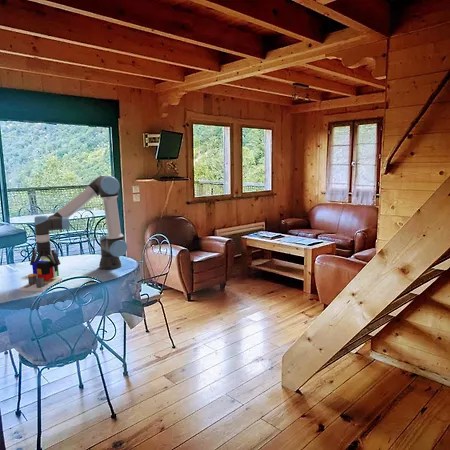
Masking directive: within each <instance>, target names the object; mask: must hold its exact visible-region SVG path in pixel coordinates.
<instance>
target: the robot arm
mask: <svg viewBox="0 0 450 450" xmlns="http://www.w3.org/2000/svg"><path fill="white" fill-rule="evenodd" d="M120 185H121V184H120V182H119V180H118V179H117V178H116V177H114V176H111V175H100V176H98V177H96V178H95V179H94V180H92V181H91V182H90V183H89V184H88V185H87V186H86V188H85V189H84V190H82V192H80V193H79V194H77V196H75V197H74V198H72V199H71V200H70V201H69V202H68V203H66V204H65V205H63V207H61V208H60V209H58V210H57V211H56V212H55V213H54V214H52V215H49V216H48V215H36V216H35V217H34V219H33V220H34V231H35V232H34V233H35V241H36V249H35V248H34V249H32V250H31V253H32V255H31V258H30V262H29V265H30V266H32V263H34V262H38V261H40V260H41V257H43V256H44V257H47V258H49V260H50V261H51V263H52V264H53V265H54V266H53V276H54V277H56V276H57V271H59V266H60V265H61V261H60V259H59V257H58V254H57V250H56V249H55V248H53V249H54V250H51V249H52V248H51V241H50V232H51V231H60V230H61V231H62V230H63V231H64V230H67V229H69V228H70V225H71V223H70V217H72V215H74V214H75V213H76V212H78V211H80V210H81V209H82V207H84V206H85V205H87V204H88V203H89V202H90V201H91V200H93V199H94V198H98V197H100V198H101V199H102V202H103V208H104V216H105V222H106V230H107V235H105V234H104V235H101V236H100V237H99V242H100V243H99V245H100V255H101V257H100V261H99V265H98V267H99V269H100V270H115V269H119V268H121V267H122V261H121V259H120V257H122V256H124V255H125V254H126V253H127V251H128V248H129V247H128V243H127V241H125V236H124V234H123V233H122V230H121V229H122V228H121V223H120V215H119V208H118V207H119V206H118V201H117V200H118V199H117V198H118V197H119V191H120ZM50 252H51V253H52V255H53V257H52V255H51V253H50ZM57 277H58V276H57Z"/></svg>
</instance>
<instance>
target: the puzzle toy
mask: <svg viewBox="0 0 450 450" xmlns="http://www.w3.org/2000/svg"><path fill="white" fill-rule="evenodd" d="M31 266H32V274H36V279H37V278H44V280H49V279H51V278H54V276H53V266H54V265H53V264H52V263H51V261H50V260H49V259H44V260H41V259H40V260H39V261H38V262H34V263H32V265H31ZM59 271H60V270H58V271H57V276H56V277H59V276H60V275H59Z"/></svg>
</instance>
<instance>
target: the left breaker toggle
mask: <svg viewBox="0 0 450 450" xmlns="http://www.w3.org/2000/svg"><path fill="white" fill-rule="evenodd" d="M42 286H44V278H37V279H36V287H42Z"/></svg>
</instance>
